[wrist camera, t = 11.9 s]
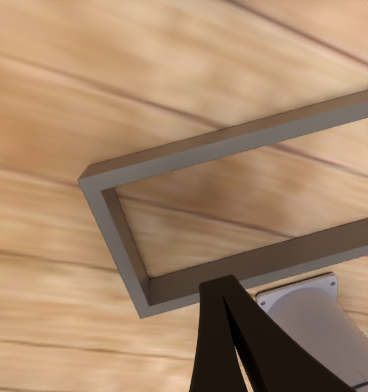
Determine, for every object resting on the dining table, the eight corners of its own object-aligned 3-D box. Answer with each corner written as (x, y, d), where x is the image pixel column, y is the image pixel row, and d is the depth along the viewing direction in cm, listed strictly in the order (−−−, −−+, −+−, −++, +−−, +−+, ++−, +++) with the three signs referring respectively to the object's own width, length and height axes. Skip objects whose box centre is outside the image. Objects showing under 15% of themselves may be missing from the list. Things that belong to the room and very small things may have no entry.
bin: (397, 218, 23) (431, 236, 20) (141, 290, 22) (140, 319, 20) (417, 76, 18) (466, 74, 15) (88, 165, 17) (77, 180, 15)
